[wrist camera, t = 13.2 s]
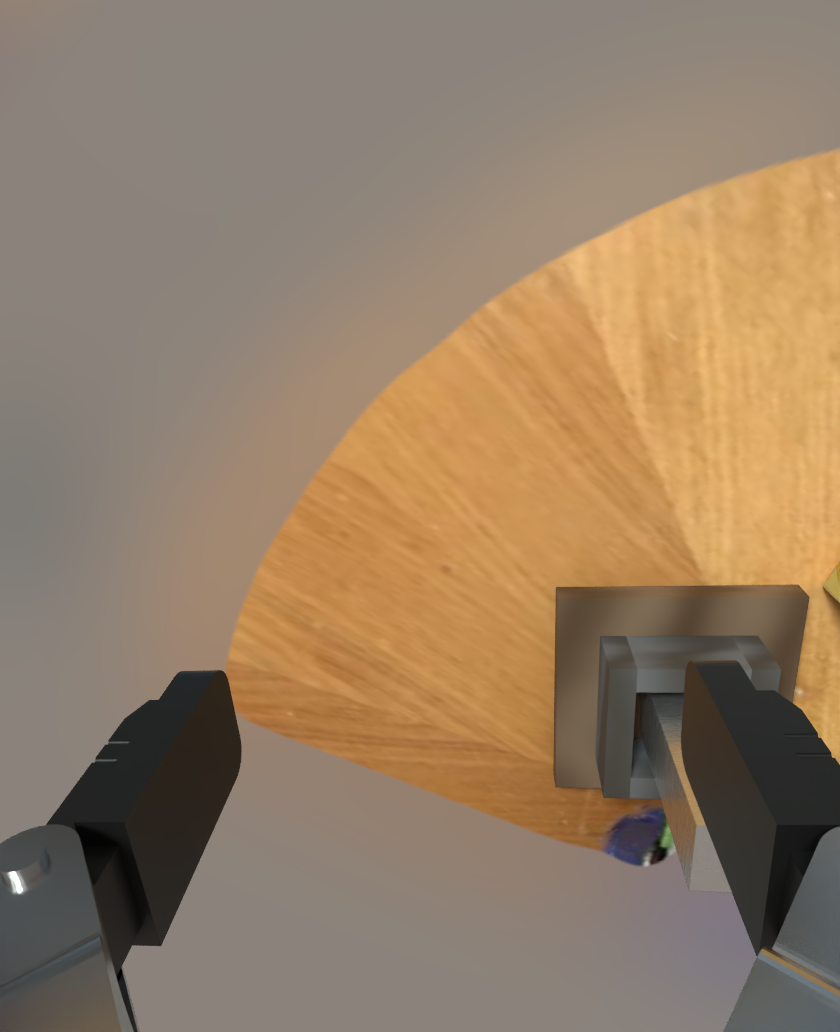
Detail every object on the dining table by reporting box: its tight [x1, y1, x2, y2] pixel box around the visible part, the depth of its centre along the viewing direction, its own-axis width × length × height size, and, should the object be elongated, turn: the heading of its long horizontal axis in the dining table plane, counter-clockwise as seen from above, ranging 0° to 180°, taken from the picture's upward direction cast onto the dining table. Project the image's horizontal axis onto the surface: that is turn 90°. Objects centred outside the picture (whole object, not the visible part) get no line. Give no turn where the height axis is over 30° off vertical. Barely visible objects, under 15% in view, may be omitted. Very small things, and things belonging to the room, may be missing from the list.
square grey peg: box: [638, 692, 732, 893], centre depth 37 cm, size 4×4×12 cm
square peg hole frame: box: [554, 585, 809, 799], centre depth 42 cm, size 14×14×5 cm
